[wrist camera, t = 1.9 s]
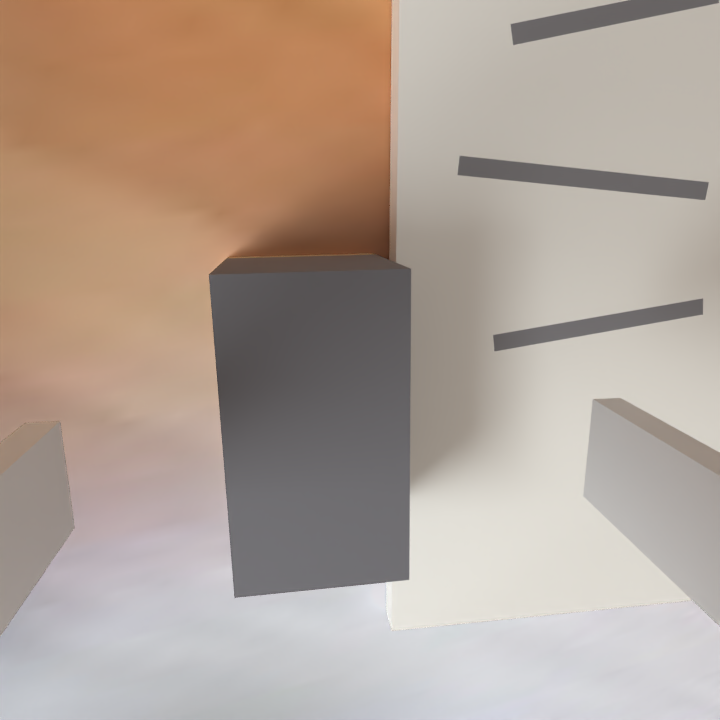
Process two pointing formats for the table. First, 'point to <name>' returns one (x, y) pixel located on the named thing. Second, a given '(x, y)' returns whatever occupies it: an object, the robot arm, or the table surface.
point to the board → (548, 284)
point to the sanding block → (314, 419)
